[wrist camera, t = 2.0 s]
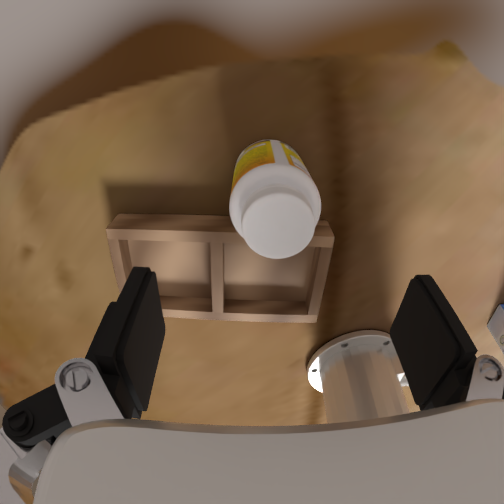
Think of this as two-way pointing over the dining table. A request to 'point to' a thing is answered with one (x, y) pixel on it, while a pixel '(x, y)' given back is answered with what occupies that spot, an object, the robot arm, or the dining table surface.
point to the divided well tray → (220, 268)
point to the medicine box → (498, 326)
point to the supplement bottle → (273, 200)
